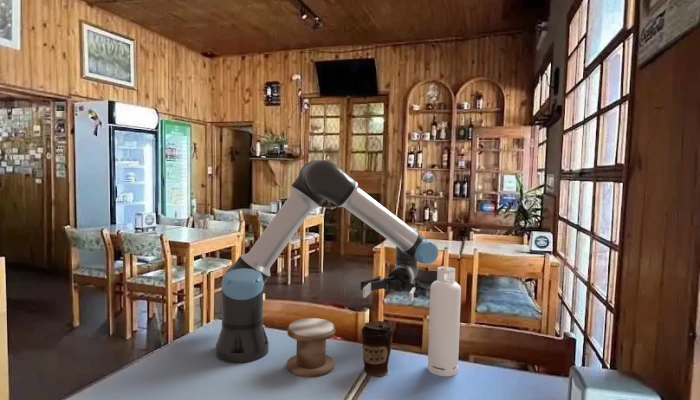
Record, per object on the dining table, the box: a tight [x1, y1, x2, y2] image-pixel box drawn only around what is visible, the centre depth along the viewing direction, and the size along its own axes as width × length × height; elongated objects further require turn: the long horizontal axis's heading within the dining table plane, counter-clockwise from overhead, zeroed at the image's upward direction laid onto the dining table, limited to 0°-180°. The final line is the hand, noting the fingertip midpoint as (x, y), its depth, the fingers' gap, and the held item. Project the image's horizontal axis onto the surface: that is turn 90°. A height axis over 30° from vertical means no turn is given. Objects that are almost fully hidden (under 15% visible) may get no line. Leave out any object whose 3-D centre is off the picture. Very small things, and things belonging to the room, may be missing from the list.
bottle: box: [427, 266, 462, 377], centre depth 117 cm, size 8×8×28 cm
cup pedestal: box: [286, 317, 336, 378], centre depth 118 cm, size 13×13×11 cm
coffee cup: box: [361, 320, 394, 377], centre depth 115 cm, size 9×8×13 cm
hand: (386, 295), depth 124 cm, fingers open, 13 cm apart
